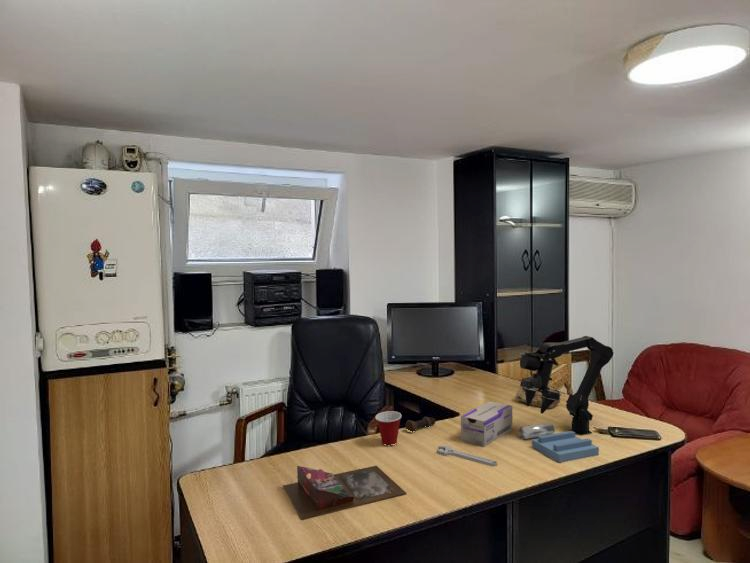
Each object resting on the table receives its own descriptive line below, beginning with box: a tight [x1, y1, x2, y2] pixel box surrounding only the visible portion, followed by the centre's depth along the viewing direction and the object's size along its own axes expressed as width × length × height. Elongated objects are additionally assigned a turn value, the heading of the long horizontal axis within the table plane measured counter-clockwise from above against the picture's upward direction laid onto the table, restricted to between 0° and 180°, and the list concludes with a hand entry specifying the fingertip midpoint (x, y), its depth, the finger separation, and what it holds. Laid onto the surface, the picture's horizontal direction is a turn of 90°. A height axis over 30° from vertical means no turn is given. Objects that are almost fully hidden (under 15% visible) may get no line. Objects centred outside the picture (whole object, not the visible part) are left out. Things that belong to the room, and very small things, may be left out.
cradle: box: [531, 430, 600, 464], centre depth 193 cm, size 18×16×5 cm
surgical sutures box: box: [460, 401, 514, 448], centre depth 211 cm, size 25×11×11 cm, turn 139°
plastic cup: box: [374, 410, 402, 445], centre depth 204 cm, size 11×11×12 cm
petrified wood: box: [515, 385, 562, 409], centre depth 252 cm, size 19×13×10 cm
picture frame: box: [282, 465, 407, 521], centre depth 165 cm, size 24×35×8 cm
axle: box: [518, 422, 556, 440], centre depth 209 cm, size 14×5×5 cm, turn 109°
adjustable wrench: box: [436, 445, 498, 467], centre depth 189 cm, size 25×6×2 cm, turn 47°
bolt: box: [404, 416, 436, 432], centre depth 222 cm, size 6×5×15 cm
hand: (534, 409), depth 208 cm, fingers open, 9 cm apart
